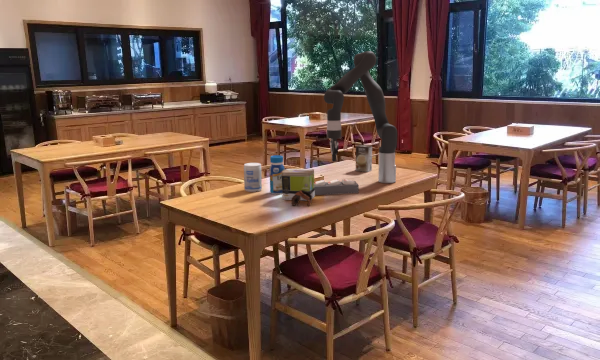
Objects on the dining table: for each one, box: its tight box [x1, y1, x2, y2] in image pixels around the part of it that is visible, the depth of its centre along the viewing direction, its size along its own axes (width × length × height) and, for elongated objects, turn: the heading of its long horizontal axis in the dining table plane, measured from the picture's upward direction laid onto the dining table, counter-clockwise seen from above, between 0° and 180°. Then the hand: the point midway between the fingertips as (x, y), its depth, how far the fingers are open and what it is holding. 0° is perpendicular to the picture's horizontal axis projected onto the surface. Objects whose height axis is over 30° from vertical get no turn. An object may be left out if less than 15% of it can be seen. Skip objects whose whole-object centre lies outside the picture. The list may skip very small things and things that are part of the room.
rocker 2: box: [326, 179, 341, 185], centre depth 268 cm, size 6×4×2 cm
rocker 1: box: [314, 179, 326, 186], centre depth 268 cm, size 6×4×2 cm
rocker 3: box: [341, 178, 355, 185], centre depth 269 cm, size 6×4×2 cm
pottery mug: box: [291, 190, 314, 207], centre depth 245 cm, size 12×10×8 cm
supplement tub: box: [243, 162, 263, 193], centre depth 275 cm, size 10×10×15 cm
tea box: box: [281, 168, 316, 202], centre depth 257 cm, size 15×10×15 cm, turn 74°
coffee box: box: [355, 144, 373, 173], centre depth 319 cm, size 9×6×16 cm
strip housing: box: [315, 180, 360, 196], centre depth 269 cm, size 25×9×4 cm, turn 96°
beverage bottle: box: [268, 154, 286, 195], centre depth 268 cm, size 8×8×20 cm
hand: (334, 161), depth 266 cm, fingers closed
